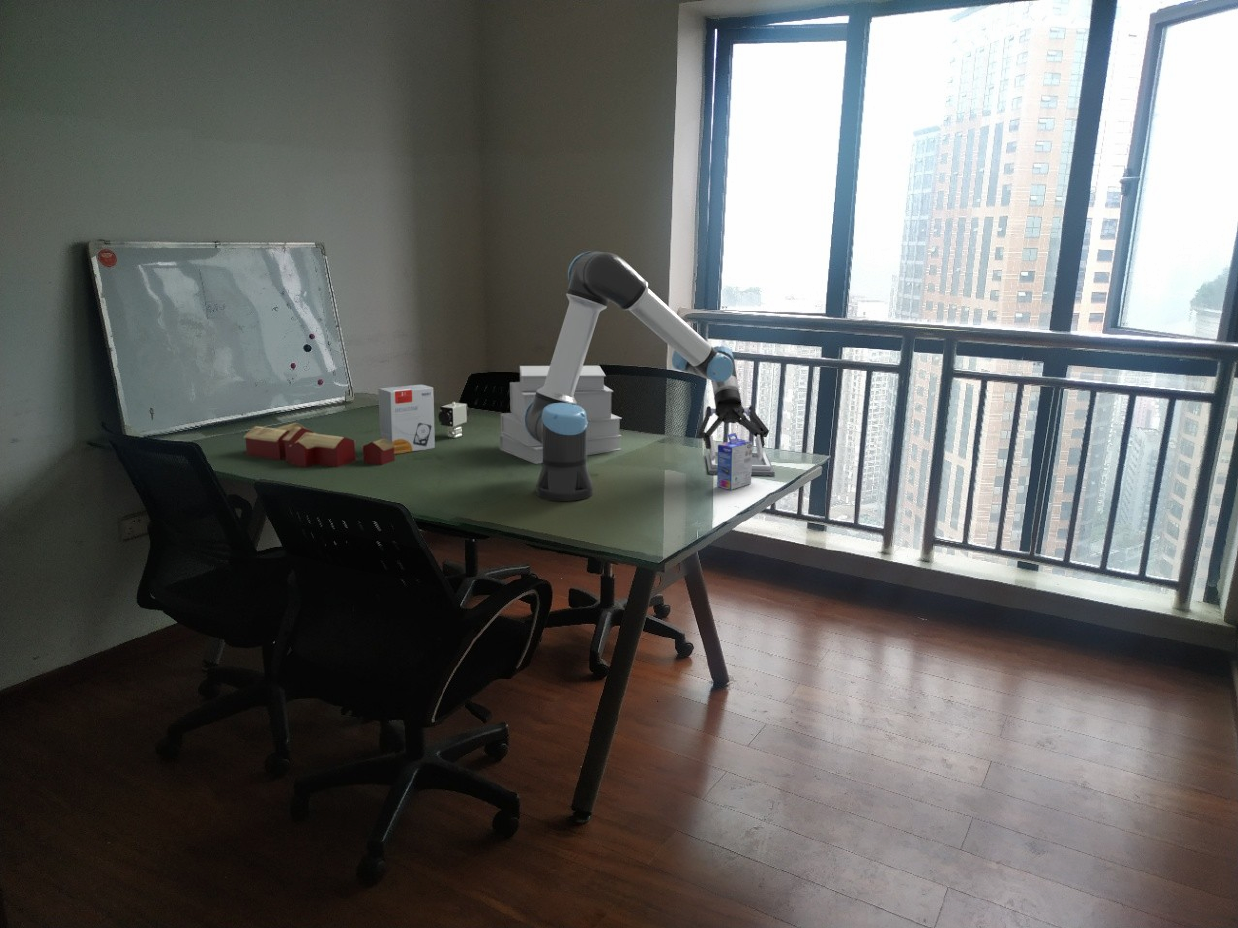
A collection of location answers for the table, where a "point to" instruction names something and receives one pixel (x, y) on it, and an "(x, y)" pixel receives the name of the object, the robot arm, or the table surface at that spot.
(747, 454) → the ink cartridge box
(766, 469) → the dock board
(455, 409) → the pneumatic valve
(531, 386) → the book stack
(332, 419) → the table surface
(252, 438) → the toy houses
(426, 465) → the table surface
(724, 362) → the robot arm
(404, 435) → the hard drive box
